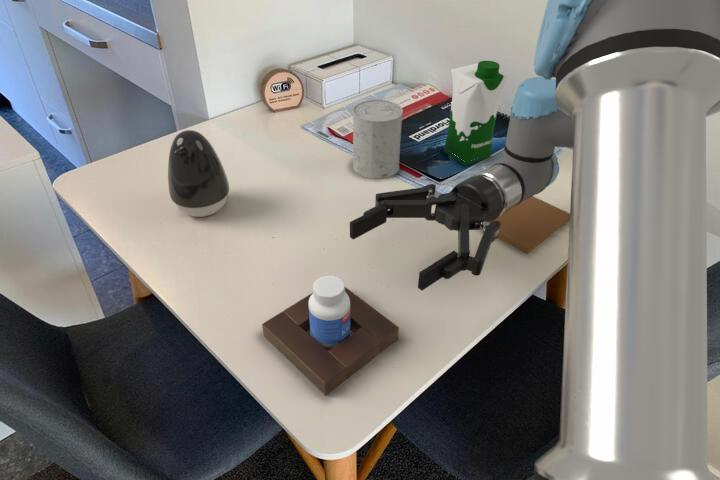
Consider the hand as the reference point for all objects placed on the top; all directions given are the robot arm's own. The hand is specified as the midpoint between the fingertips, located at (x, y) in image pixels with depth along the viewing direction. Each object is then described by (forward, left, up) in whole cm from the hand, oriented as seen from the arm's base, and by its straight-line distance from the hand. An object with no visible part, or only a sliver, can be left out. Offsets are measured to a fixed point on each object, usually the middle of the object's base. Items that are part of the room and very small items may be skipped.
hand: (383, 255), depth 70 cm
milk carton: (+35, -34, -10) cm, 50 cm away
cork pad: (+11, -31, -10) cm, 34 cm away
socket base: (-3, +9, -10) cm, 14 cm away
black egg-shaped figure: (+34, +21, -10) cm, 41 cm away
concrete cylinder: (+37, -14, -10) cm, 41 cm away
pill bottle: (-3, +9, -10) cm, 14 cm away
